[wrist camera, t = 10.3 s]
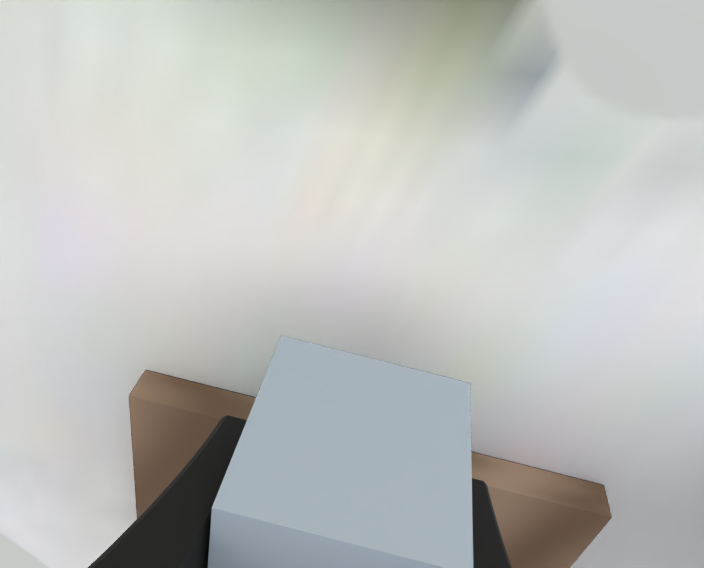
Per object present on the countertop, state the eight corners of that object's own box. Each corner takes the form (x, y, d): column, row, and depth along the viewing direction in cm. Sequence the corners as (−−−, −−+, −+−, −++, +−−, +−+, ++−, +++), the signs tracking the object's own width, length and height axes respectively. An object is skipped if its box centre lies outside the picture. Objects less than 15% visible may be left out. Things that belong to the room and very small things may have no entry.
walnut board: (604, 485, 19) (611, 517, 18) (474, 653, 27) (474, 681, 26) (145, 370, 19) (128, 395, 18) (153, 571, 28) (142, 596, 27)
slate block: (470, 383, 12) (473, 575, 8) (420, 494, 14) (407, 678, 11) (281, 335, 12) (211, 507, 8) (263, 453, 14) (203, 624, 11)
